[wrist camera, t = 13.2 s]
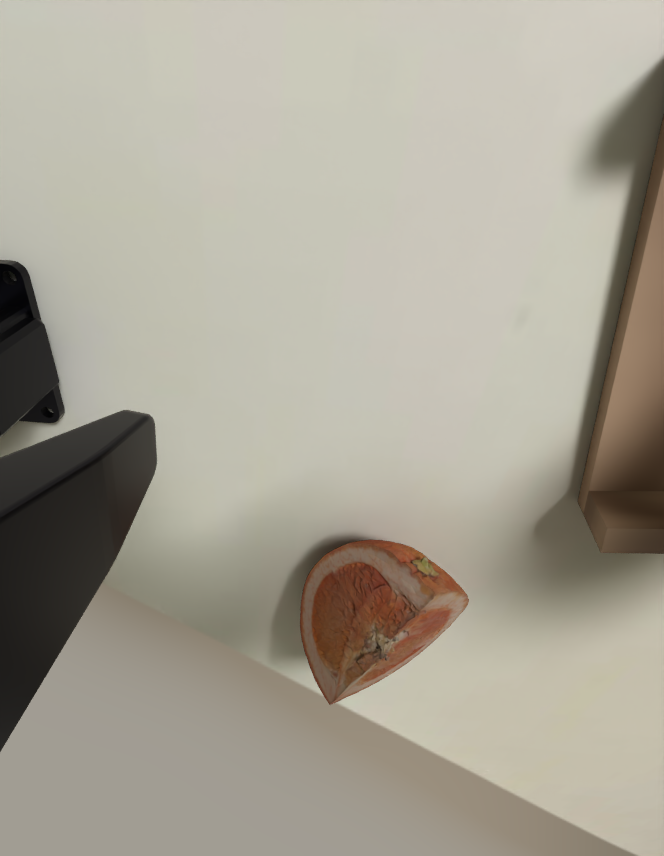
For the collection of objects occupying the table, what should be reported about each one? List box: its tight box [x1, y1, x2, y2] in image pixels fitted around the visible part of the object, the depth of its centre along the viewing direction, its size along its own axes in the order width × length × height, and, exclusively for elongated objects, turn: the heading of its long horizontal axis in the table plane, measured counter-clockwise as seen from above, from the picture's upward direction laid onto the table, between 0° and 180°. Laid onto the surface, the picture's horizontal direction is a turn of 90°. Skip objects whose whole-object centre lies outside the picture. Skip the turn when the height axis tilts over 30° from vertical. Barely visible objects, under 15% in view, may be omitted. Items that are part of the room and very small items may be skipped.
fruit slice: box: [300, 540, 469, 704], centre depth 24 cm, size 8×7×5 cm
